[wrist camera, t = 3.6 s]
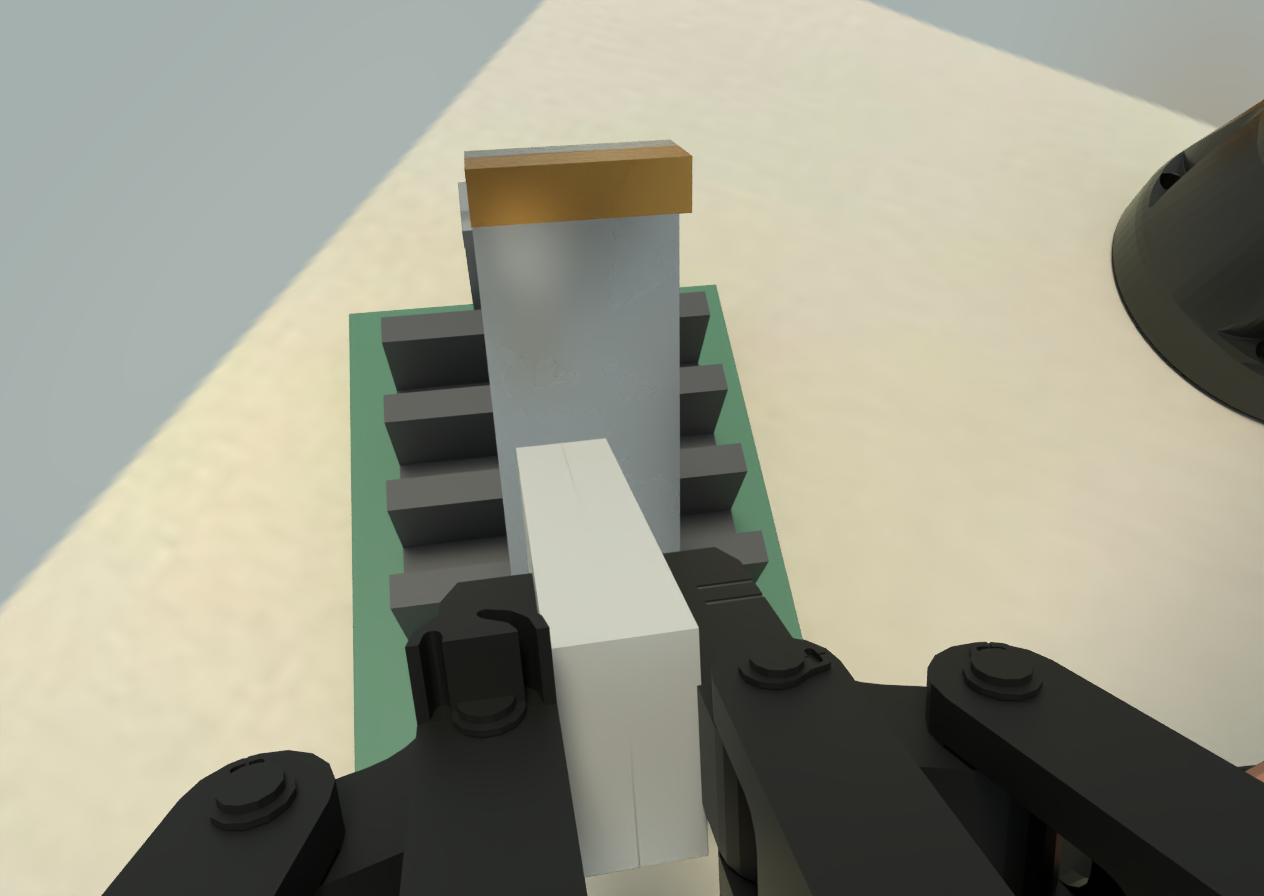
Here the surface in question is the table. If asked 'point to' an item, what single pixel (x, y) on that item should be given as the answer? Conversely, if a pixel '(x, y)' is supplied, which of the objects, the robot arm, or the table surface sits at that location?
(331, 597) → the table surface
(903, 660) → the table surface
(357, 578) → the cpu board
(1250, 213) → the robot arm
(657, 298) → the silver flat bar
